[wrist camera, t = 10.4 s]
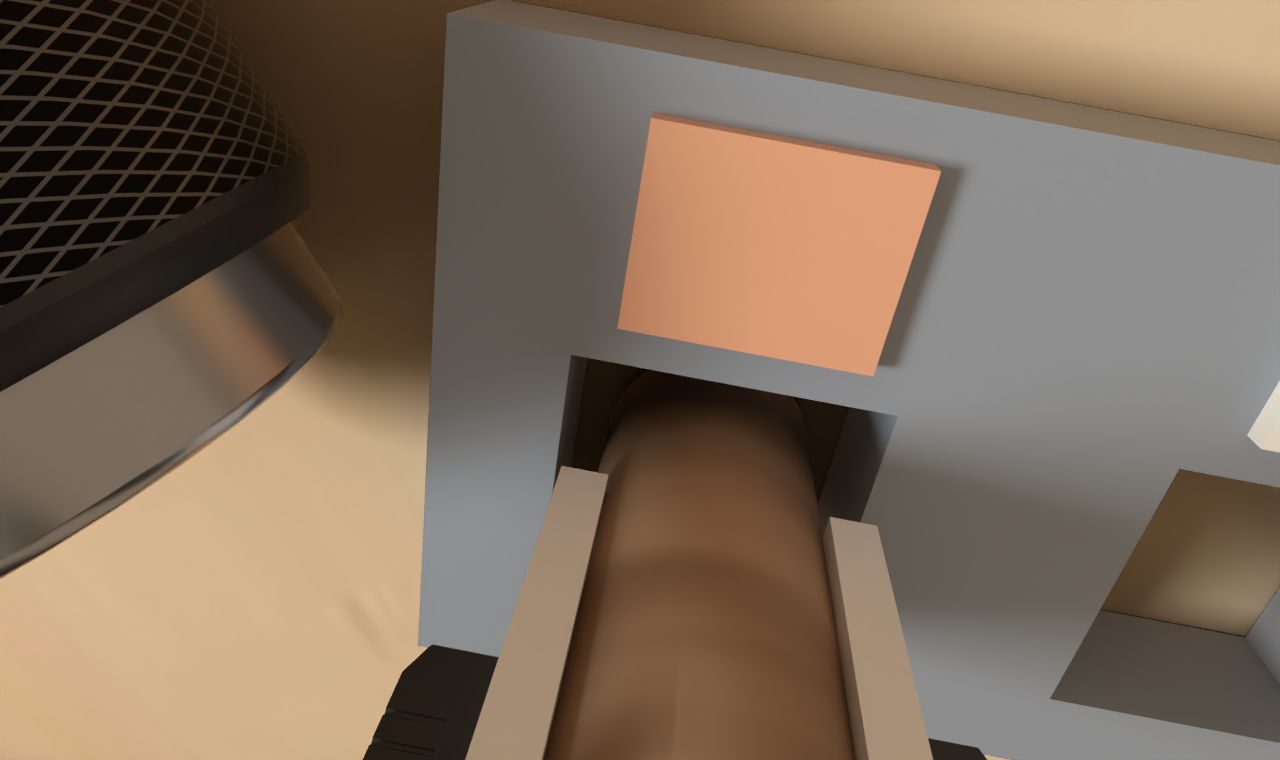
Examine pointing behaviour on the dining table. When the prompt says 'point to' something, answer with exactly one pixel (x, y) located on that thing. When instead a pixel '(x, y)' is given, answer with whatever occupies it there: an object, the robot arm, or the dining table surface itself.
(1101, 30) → the dining table surface
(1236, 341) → the socket block
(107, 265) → the muzzle brake
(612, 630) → the walnut peg
